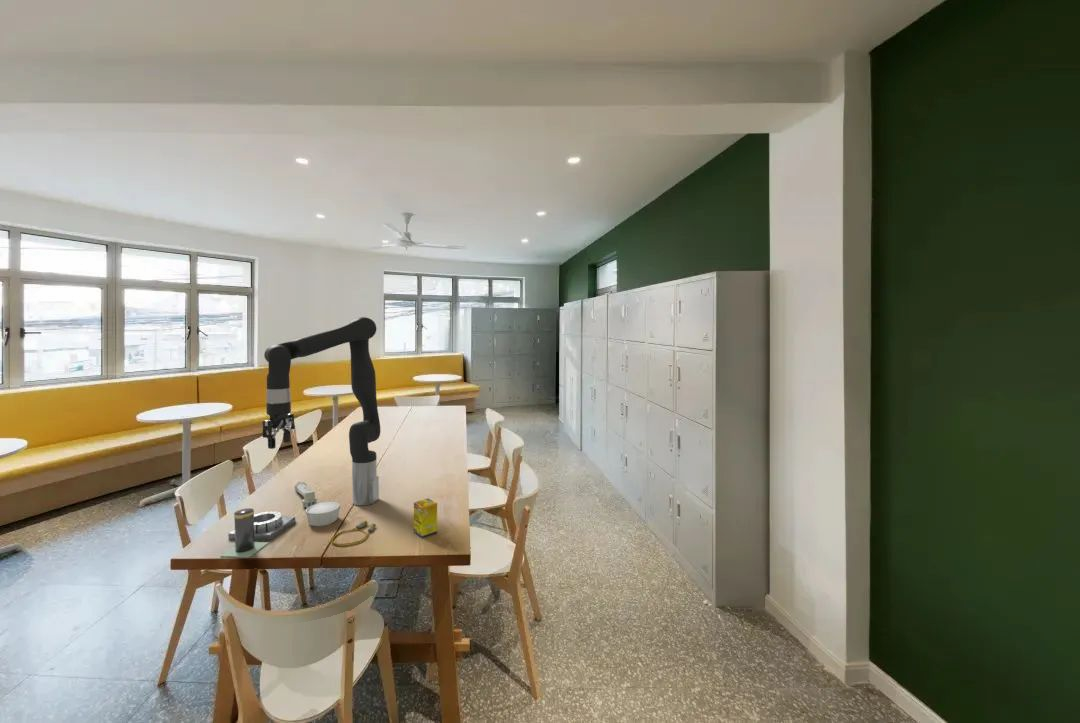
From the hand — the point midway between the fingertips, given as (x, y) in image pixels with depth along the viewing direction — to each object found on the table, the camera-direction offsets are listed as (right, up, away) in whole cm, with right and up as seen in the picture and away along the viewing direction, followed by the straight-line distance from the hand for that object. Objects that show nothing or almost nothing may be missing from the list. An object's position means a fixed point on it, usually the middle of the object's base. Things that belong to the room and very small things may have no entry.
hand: (279, 445), depth 154 cm
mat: (+1, -29, -19) cm, 35 cm away
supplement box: (+54, -30, -6) cm, 62 cm away
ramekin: (+15, -29, +2) cm, 32 cm away
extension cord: (+31, -30, -9) cm, 44 cm away
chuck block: (-2, -29, -6) cm, 29 cm away
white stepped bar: (-3, -27, +23) cm, 36 cm away
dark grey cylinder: (+1, -29, -19) cm, 35 cm away
